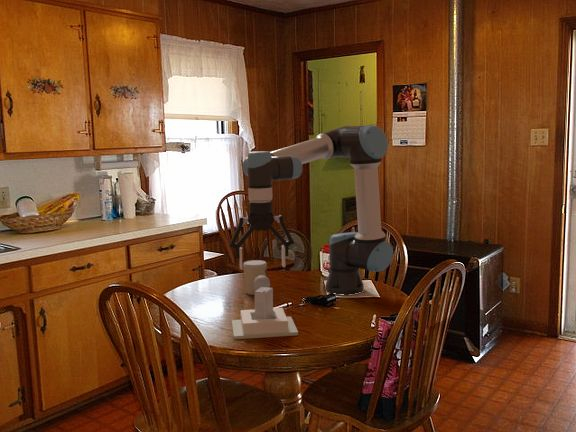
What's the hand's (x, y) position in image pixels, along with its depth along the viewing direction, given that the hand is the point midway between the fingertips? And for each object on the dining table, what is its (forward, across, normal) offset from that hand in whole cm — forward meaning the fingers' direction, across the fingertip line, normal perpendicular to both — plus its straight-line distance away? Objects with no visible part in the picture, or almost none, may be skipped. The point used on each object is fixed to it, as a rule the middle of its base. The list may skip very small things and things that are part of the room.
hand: (262, 267), depth 186 cm
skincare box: (+19, 0, 0) cm, 19 cm away
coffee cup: (+21, -1, -45) cm, 49 cm away
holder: (+20, 0, 0) cm, 20 cm away
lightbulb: (+20, -2, -27) cm, 34 cm away
